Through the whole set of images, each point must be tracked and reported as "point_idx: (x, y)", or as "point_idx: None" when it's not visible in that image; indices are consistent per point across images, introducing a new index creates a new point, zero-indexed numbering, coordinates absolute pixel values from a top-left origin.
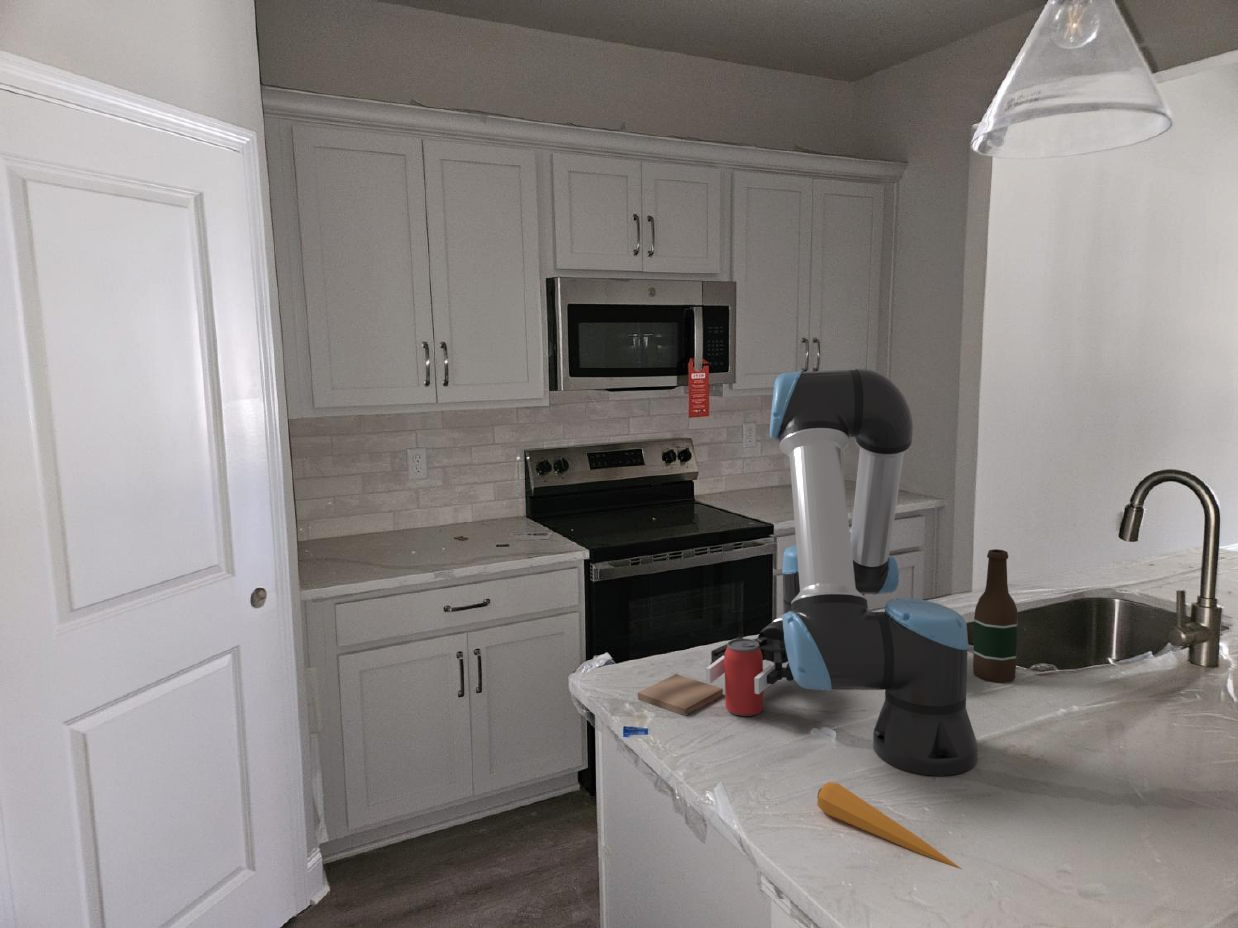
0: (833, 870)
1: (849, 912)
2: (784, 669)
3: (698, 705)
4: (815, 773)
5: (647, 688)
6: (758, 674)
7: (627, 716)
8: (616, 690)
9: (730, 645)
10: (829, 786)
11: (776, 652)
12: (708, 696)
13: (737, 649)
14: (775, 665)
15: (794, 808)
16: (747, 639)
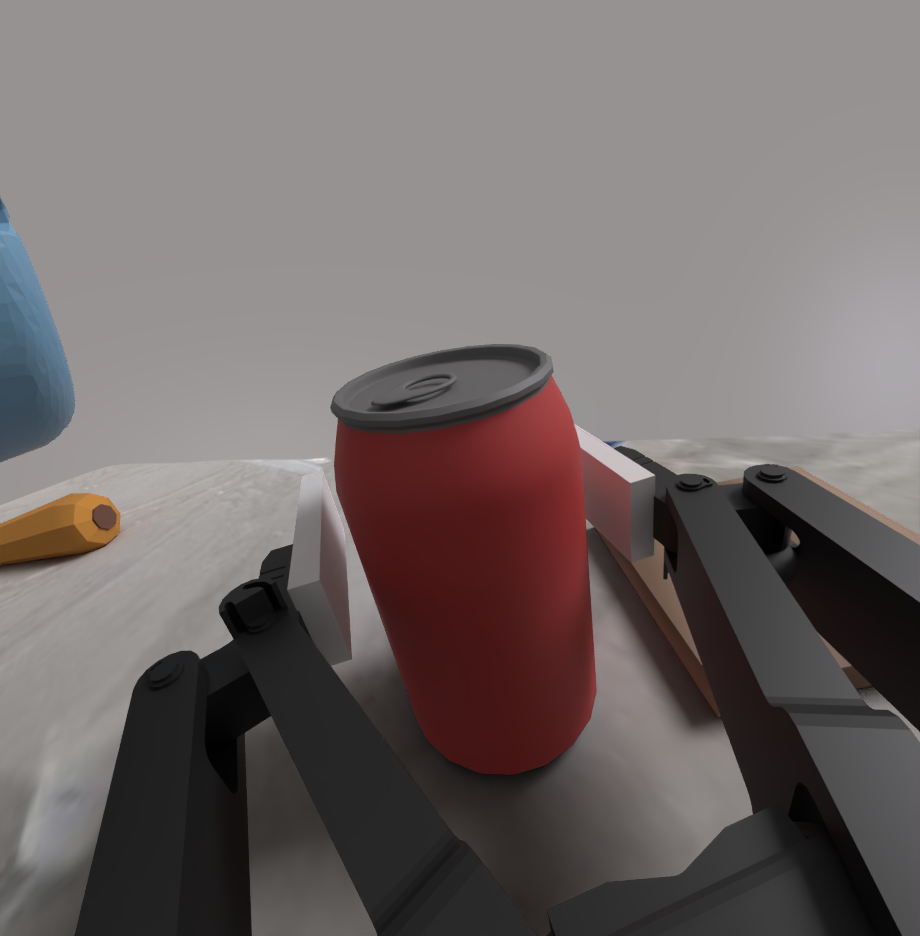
0: (106, 488)
1: (92, 473)
2: (221, 658)
3: (623, 563)
4: (131, 592)
5: (834, 490)
6: (322, 490)
7: (672, 451)
8: (902, 468)
9: (504, 361)
10: (75, 496)
11: (425, 865)
12: (654, 597)
13: (413, 357)
14: (280, 601)
15: (171, 512)
16: (483, 398)
